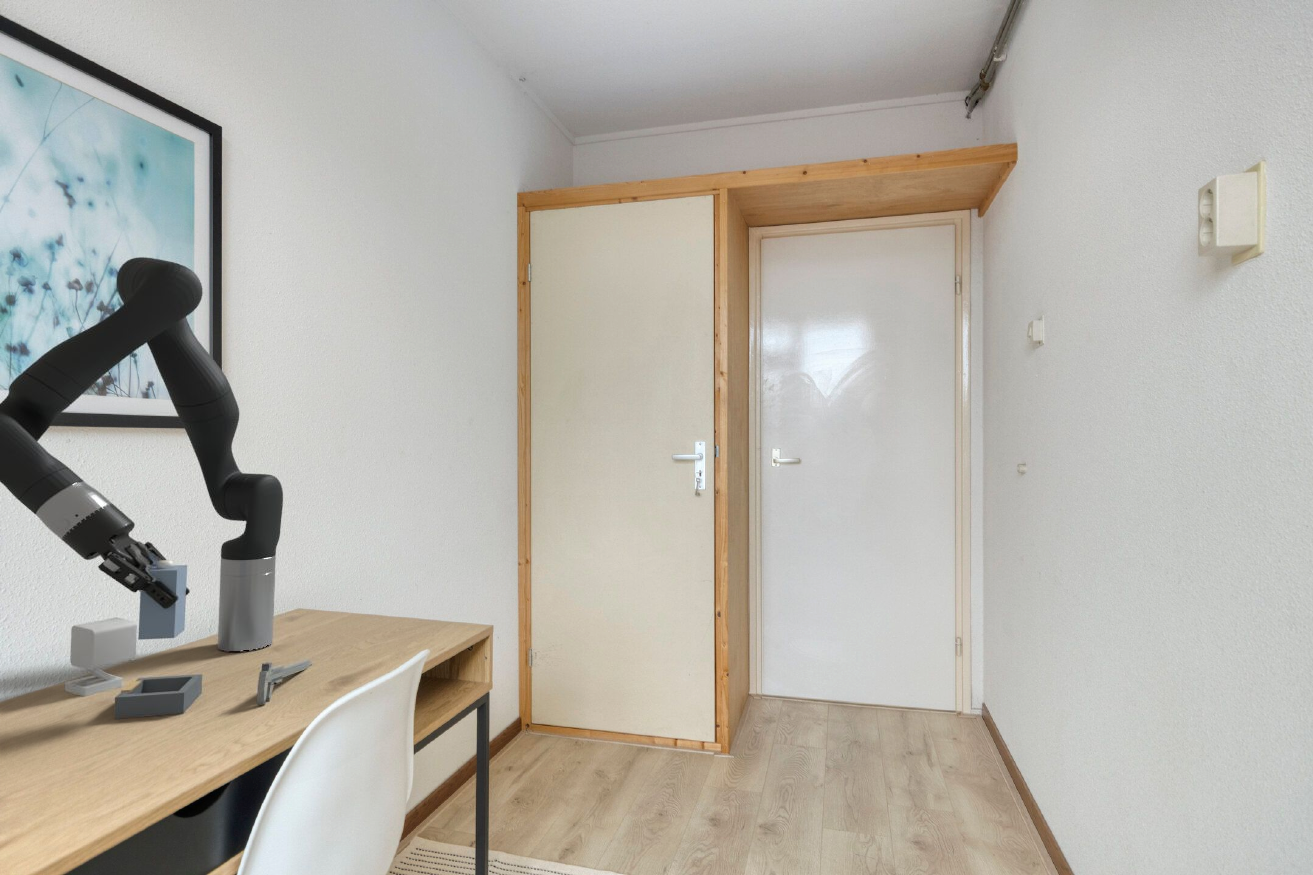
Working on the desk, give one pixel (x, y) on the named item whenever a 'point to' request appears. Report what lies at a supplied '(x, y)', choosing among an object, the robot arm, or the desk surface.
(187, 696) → the pocket plate
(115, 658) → the security camera
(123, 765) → the desk surface
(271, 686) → the caliper
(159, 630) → the blue gray block
